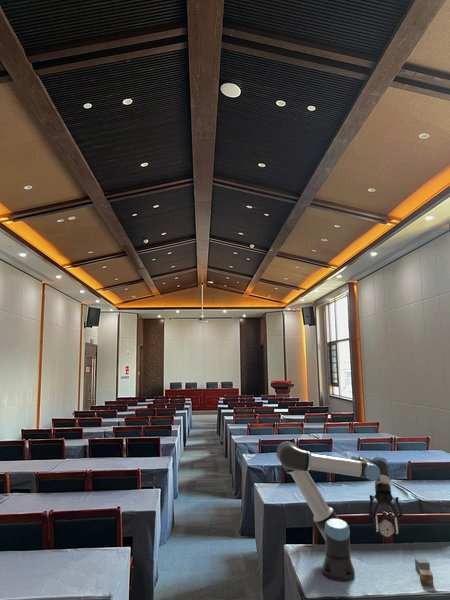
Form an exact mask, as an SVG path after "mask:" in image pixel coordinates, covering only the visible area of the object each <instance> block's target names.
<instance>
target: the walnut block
mask: <svg viewBox="0 0 450 600" xmlns="http://www.w3.org/2000/svg"><path fill="white" fill-rule="evenodd" d="M418 574H419V581H420V585H421V586H422V587H428V588H429V587H430V588H434V575H433V573H432V571H431V570H430V571H429V570H421V569H419V572H418Z"/></svg>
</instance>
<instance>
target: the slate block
mask: <svg viewBox="0 0 450 600" xmlns="http://www.w3.org/2000/svg"><path fill="white" fill-rule="evenodd" d="M414 565H415V566H414V567H415V570H416V571H417V572H418V573H419V569H421V570H429V571H431V567H430V566H431V565H430V562H429V561H428V560H427V559H426V558H425V557H424V558H423V557H422V558H417V557H415V558H414Z"/></svg>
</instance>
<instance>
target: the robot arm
mask: <svg viewBox="0 0 450 600" xmlns="http://www.w3.org/2000/svg"><path fill="white" fill-rule="evenodd" d="M276 456H277V457H276V458H277V459H278V460H279V462H280V464H281V466H282V467H283V469H284V470H285V472H286V474H289V475H291V477H292V479H293V480H294V483H295V484H296V486H297V488H298V490H299V491H300V493H301V495H302V497H303V498H304V500H305V502H306V503H307V505H308V507H309V508H310V510H311V512H312V514H313V517H312V518H313V522H314V523H315V524H316V527H317V528H318V531H319V533H320V534H321V536H322V537H323V540H324V543H325V556H324V560H323V564H322V569H321V570H322V575H323V576H324V577H325V578H327V579H328V580H331V581H335V582H349V581H352V580H354V578H355V577H356V575H355V568H354V566H353V562H352V559H351V537H350V535H351V530H350V527H349V526H350V525H349V524H348V523H347V521H345V520H343V519H341V518H339V517H338V515H337V514H336V512H335V510H334V508H333V507H330V506H329V505H328V504H327V502H326V500H325V499H324V496H323V495H322V493H321V492H320V490H319V487H318V486H317V485H316V483H315V480H314V479H313V478H312V476H311V474H310V473H309V471H310V470H311V471H316V472H324V473H332V474H340V475H344V476H352V477H359V478H364V479H367V480H370V481H374V490H375V492H374V493H375V495H372V494H369V501H370V502H369V510H368V516H369V517H372V523H373V524H374V525H375V530H376V531H375V532H376V533H379V532H378V531H379V528H378V524H379V523H378V522H379V521H378V515H377V514H378V512H379V509H380V507H381V506H387V507H388V508H389V509H390V511H391V513H392V514H393V516H394V528H395V532H396V533H395V534H396V535H399V527H400V526H401V525H400V524H401V523H400V520H403V517H404V515H403V512H402V509H401V506H400V502H399V496H398V497H397V496H396V497H394V496H393V495H392V488H391V480H390V472H389V470H390V469H389V463H388V461H387V459H386V458H385V457H383V456H375V457H374V458H373V459H370V458H367V457H363V456H360V455H353V456H351V459H348V458H342V457H335V456H328V455H321V454H315V453H310V451H309V450H304V449H301V448H299V447H298V446H297V445H296V444H295V443H294V442H293V441H290V440H289V441H283V442H281V443H279V445H278V446H277V449H276ZM375 500H376V501H377V503H376V505H375V507H374V510H373V506H374V505H373V504H374V501H375ZM392 501H393V502H394V503H395V507H396V509H395V507H394V506H393V503H392Z"/></svg>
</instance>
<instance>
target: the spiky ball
mask: <svg viewBox="0 0 450 600" xmlns="http://www.w3.org/2000/svg"><path fill="white" fill-rule="evenodd" d="M377 533H380V536H383V537H386V540H389V537H392V536H393V534H396V529H395V524H393V520H388V519H386V517H384V519H383V520H380V522H379V523H378V532H377Z"/></svg>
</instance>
